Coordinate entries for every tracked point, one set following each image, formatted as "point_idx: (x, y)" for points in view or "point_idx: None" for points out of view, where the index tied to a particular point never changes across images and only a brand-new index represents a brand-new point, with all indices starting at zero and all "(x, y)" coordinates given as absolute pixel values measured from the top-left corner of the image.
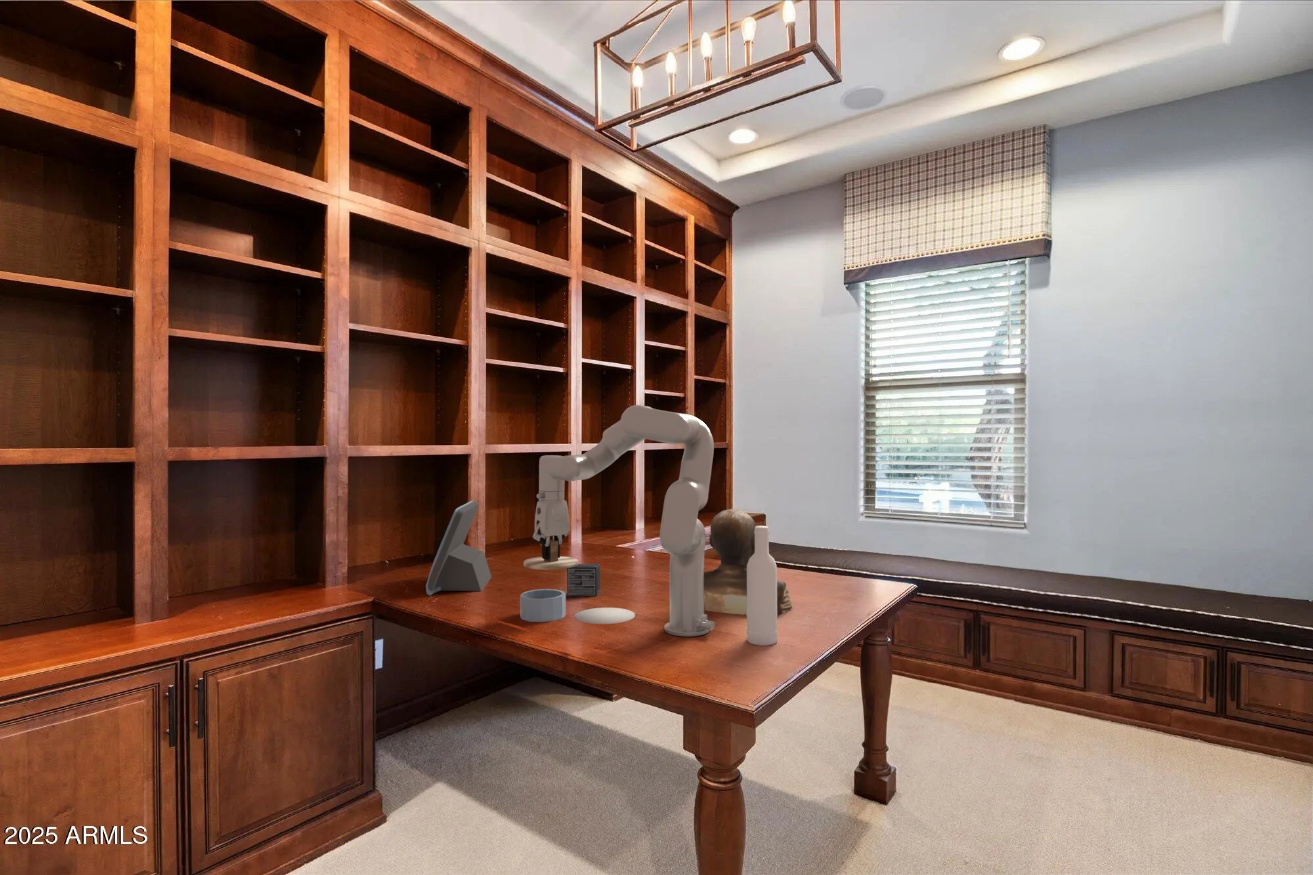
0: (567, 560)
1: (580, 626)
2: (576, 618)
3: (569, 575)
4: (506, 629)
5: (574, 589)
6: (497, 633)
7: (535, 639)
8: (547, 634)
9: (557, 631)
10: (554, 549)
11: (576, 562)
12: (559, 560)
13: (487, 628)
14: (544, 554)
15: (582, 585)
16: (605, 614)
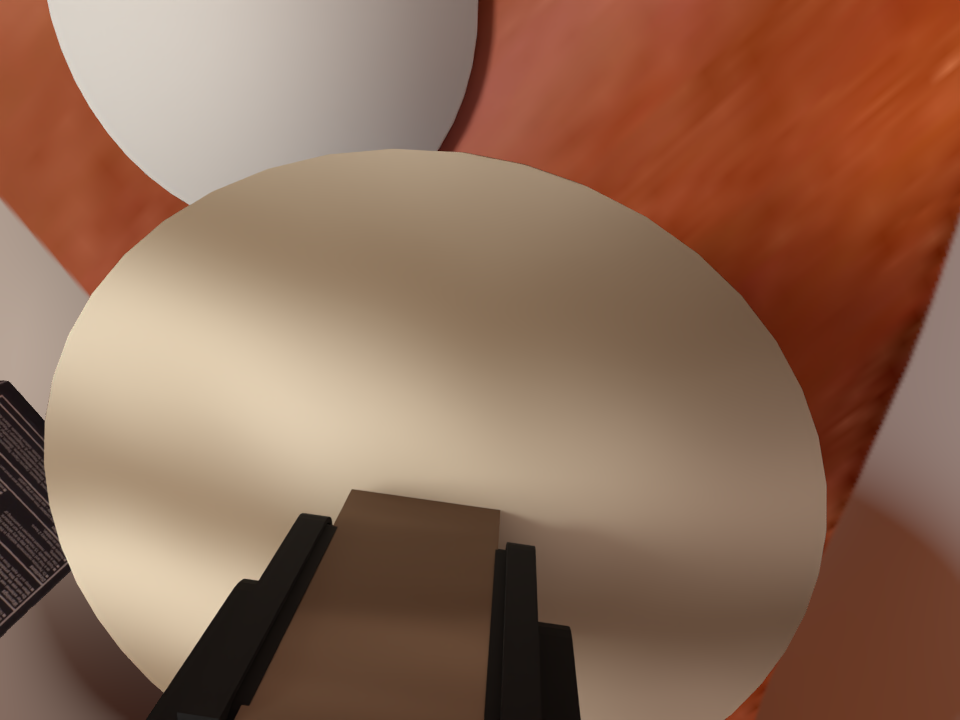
0: (225, 411)
1: (532, 3)
2: (437, 135)
3: (14, 599)
4: (799, 363)
5: None
6: (888, 350)
7: (925, 56)
8: (793, 70)
9: (705, 61)
10: (377, 656)
11: (220, 188)
12: (308, 498)
13: (822, 455)
14: (567, 664)
15: (8, 488)
16: (239, 21)
